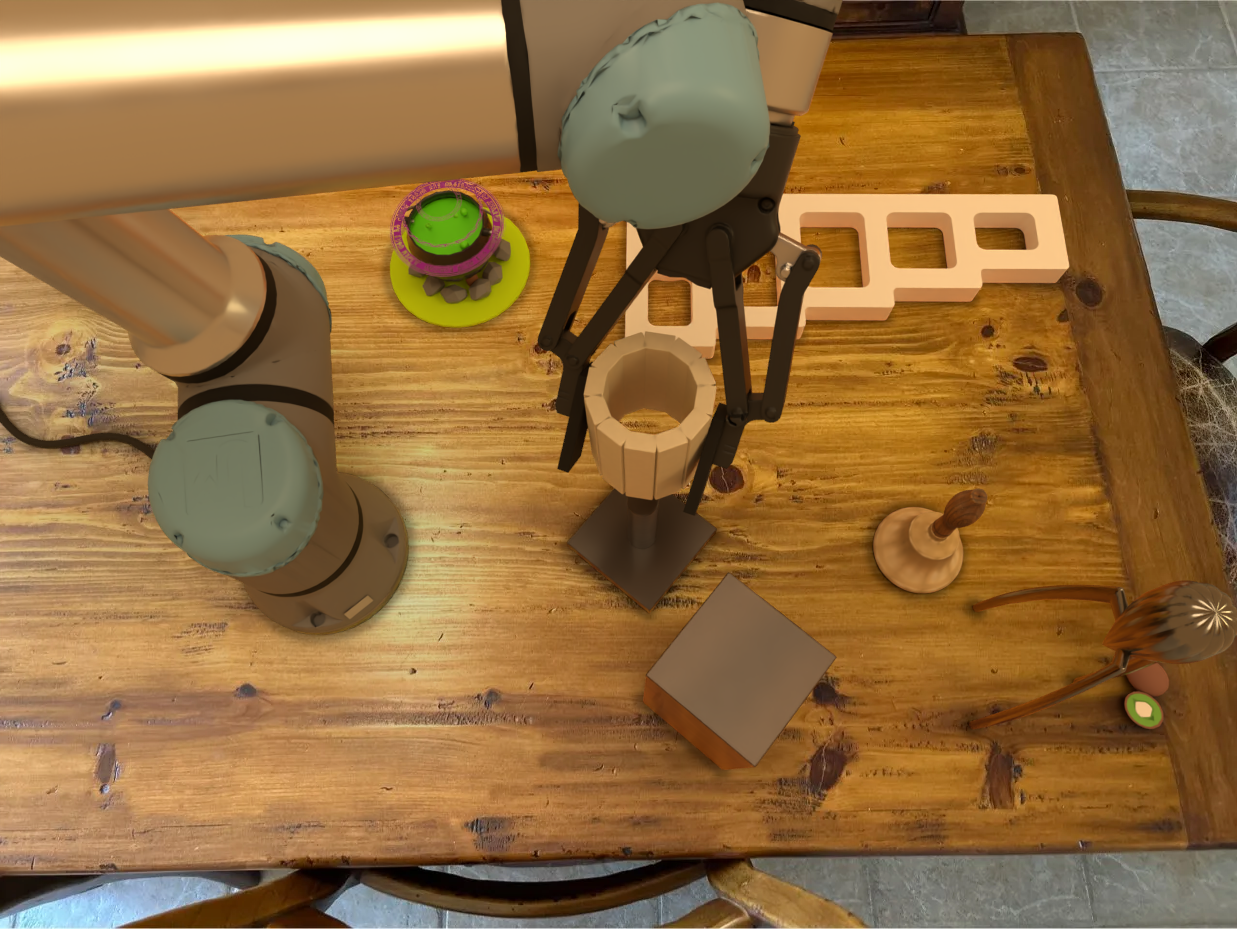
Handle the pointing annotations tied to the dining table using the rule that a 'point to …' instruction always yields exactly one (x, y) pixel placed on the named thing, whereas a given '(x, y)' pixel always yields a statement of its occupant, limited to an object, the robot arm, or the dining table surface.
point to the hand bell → (926, 542)
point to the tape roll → (656, 381)
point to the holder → (887, 258)
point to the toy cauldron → (456, 257)
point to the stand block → (735, 676)
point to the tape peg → (641, 544)
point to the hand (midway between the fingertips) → (630, 482)
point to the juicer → (1135, 632)
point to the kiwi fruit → (1146, 695)
